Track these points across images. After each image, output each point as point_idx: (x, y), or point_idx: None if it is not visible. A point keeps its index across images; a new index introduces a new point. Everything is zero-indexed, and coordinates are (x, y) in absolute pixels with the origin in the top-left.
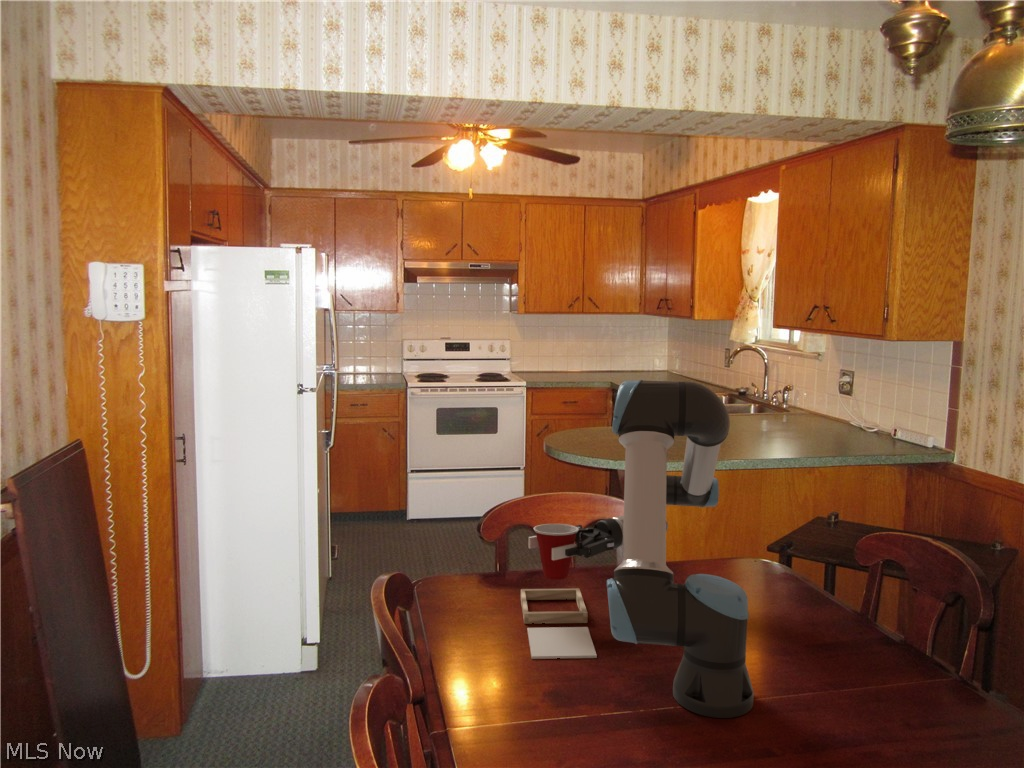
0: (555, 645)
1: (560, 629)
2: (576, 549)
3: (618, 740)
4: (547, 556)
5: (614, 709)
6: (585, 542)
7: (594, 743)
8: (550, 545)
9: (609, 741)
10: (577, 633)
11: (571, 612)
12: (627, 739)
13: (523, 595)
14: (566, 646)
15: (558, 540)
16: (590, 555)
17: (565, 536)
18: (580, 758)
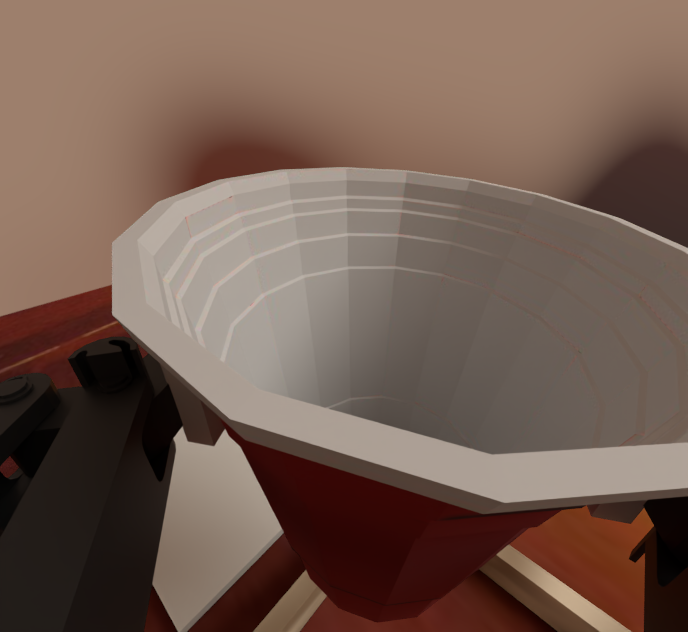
0: (225, 437)
1: (265, 522)
2: (146, 358)
3: (24, 326)
4: (358, 342)
5: (31, 363)
6: (45, 498)
7: (62, 311)
8: (329, 269)
9: (39, 320)
10: (196, 543)
11: (271, 620)
12: (8, 332)
13: (565, 594)
14: (195, 451)
15: (274, 240)
16: (9, 486)
17: (222, 223)
18: (79, 294)
